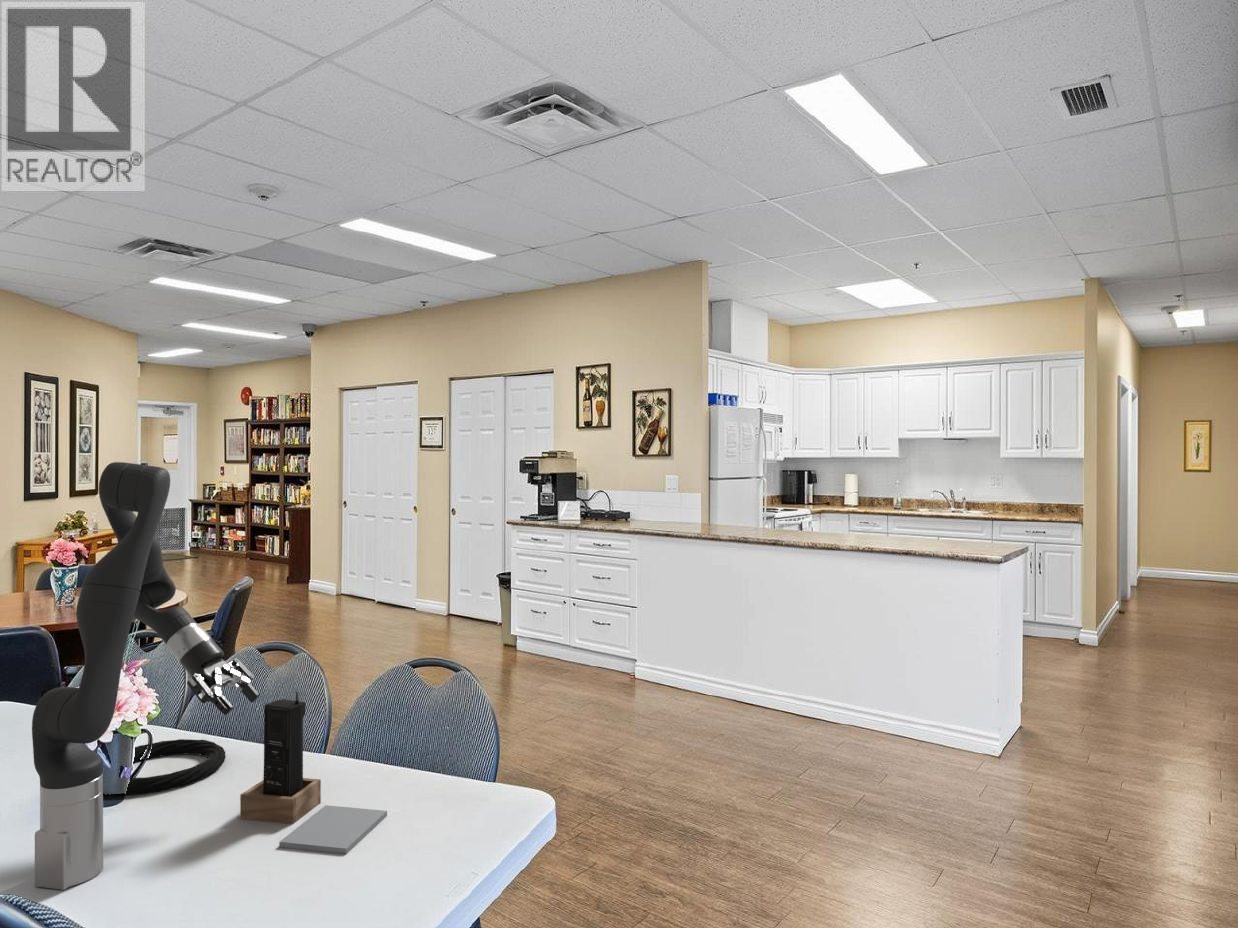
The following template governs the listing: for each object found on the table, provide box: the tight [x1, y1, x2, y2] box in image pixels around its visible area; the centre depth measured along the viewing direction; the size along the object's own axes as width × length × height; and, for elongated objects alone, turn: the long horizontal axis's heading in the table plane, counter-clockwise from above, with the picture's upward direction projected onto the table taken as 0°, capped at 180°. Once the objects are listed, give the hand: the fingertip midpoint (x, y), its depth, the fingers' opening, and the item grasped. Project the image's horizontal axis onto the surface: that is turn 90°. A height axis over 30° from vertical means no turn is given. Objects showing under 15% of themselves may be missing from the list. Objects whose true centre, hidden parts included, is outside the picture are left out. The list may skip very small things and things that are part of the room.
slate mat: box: [278, 804, 388, 855], centre depth 156 cm, size 16×14×1 cm
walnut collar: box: [239, 777, 322, 825], centre depth 164 cm, size 10×12×5 cm
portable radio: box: [262, 691, 306, 797], centre depth 164 cm, size 8×6×25 cm
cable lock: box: [125, 738, 226, 796], centre depth 184 cm, size 28×4×30 cm
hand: (243, 705), depth 166 cm, fingers open, 8 cm apart
